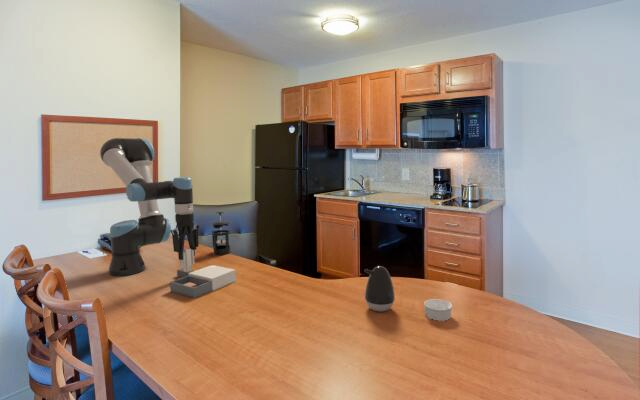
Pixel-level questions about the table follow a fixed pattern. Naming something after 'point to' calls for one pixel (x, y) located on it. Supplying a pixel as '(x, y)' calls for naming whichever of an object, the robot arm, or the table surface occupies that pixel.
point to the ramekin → (438, 309)
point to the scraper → (188, 267)
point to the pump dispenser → (379, 289)
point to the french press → (221, 248)
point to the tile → (190, 284)
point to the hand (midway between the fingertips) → (187, 265)
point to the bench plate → (216, 275)
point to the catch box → (192, 292)
